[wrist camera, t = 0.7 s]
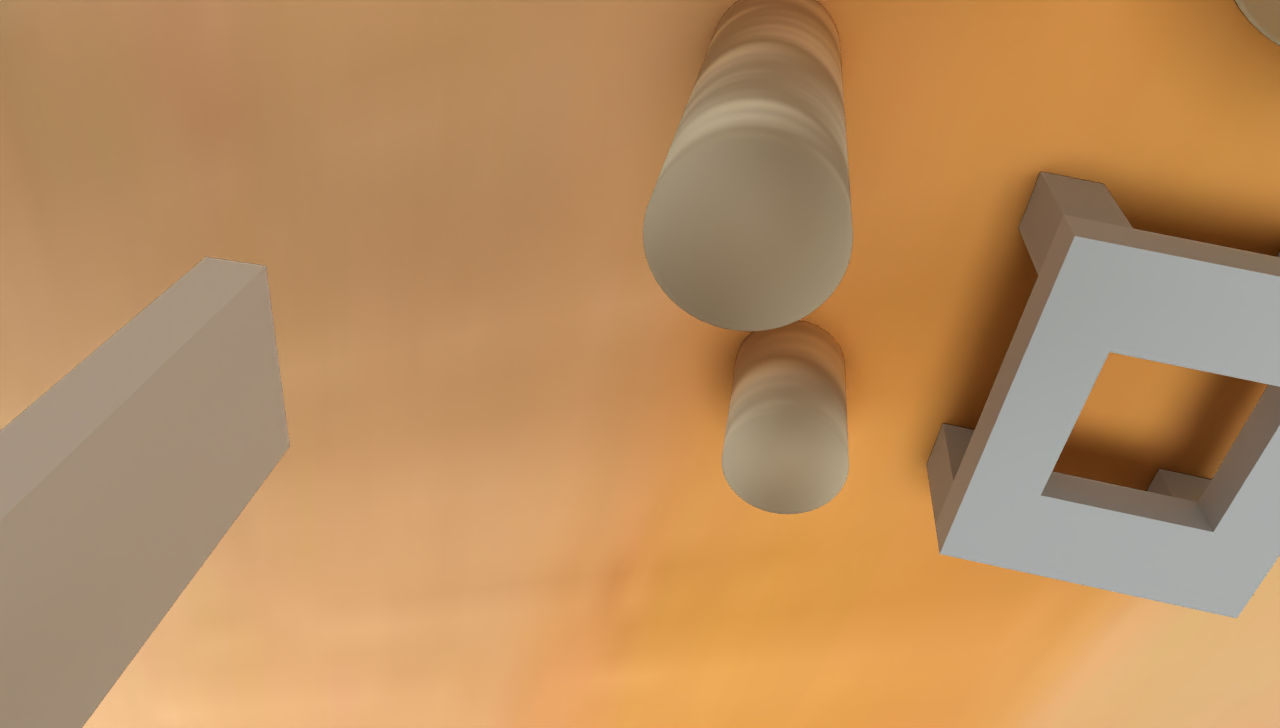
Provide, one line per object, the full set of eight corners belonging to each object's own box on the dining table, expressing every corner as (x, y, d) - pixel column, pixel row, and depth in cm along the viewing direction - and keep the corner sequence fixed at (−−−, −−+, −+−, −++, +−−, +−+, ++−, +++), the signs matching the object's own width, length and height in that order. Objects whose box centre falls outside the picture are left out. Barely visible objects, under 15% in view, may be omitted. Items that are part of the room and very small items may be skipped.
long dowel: (700, 104, 32) (629, 309, 20) (723, -24, 30) (660, 119, 18) (822, 128, 32) (823, 349, 20) (855, 1, 29) (878, 162, 18)
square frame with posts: (926, 464, 38) (939, 553, 33) (1040, 171, 31) (1074, 236, 27) (1189, 520, 37) (1236, 618, 33) (1361, 234, 31) (1446, 309, 26)
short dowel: (726, 399, 38) (711, 499, 33) (747, 309, 35) (735, 401, 30) (829, 421, 37) (830, 525, 32) (857, 332, 35) (863, 428, 30)
